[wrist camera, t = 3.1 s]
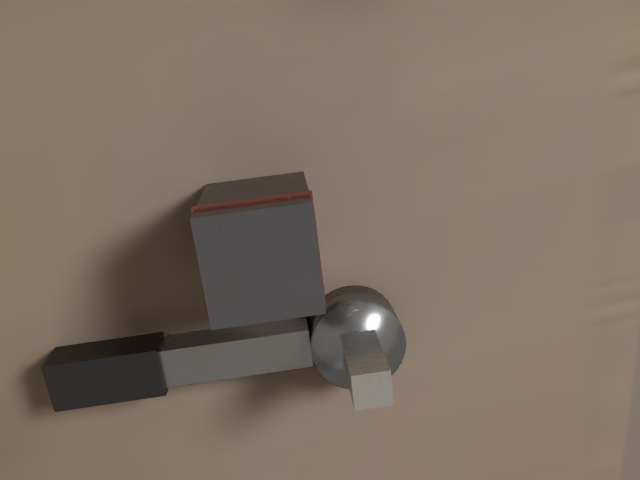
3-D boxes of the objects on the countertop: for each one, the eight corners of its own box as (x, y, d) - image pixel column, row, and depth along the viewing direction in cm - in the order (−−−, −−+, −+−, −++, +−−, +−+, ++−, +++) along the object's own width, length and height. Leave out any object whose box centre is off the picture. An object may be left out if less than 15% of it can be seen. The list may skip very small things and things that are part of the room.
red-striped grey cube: (221, 276, 38) (209, 332, 30) (204, 183, 36) (187, 217, 28) (316, 263, 38) (328, 315, 30) (304, 169, 36) (314, 200, 28)
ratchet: (73, 407, 40) (26, 490, 32) (50, 327, 38) (-5, 396, 30) (399, 359, 41) (429, 428, 33) (392, 279, 39) (422, 334, 31)
